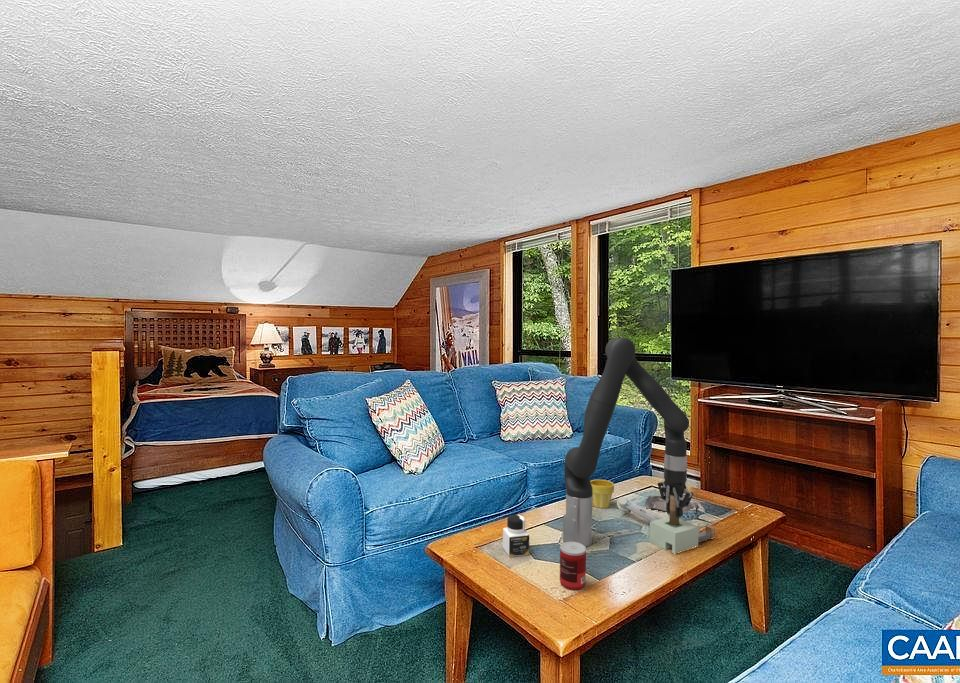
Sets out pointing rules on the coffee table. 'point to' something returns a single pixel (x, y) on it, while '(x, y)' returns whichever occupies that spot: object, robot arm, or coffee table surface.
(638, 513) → the white handheld tool
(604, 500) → the plant pot
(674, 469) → the robot arm
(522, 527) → the medicine bottle
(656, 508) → the terrain model
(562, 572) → the canned food
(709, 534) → the pin
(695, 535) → the dock
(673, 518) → the dowel
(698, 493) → the coffee table surface
